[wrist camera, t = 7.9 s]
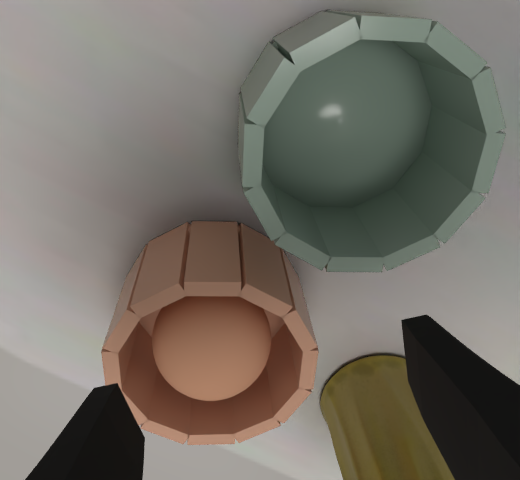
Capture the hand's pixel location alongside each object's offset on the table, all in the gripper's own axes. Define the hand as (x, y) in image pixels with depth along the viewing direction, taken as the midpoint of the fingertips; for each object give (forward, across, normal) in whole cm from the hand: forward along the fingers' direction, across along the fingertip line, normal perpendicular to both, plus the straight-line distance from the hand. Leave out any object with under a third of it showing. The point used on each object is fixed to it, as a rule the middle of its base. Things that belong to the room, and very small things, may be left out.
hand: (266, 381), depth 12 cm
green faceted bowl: (+10, -4, -3) cm, 12 cm away
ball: (+7, +3, +4) cm, 9 cm away
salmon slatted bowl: (+10, +3, +4) cm, 11 cm away
